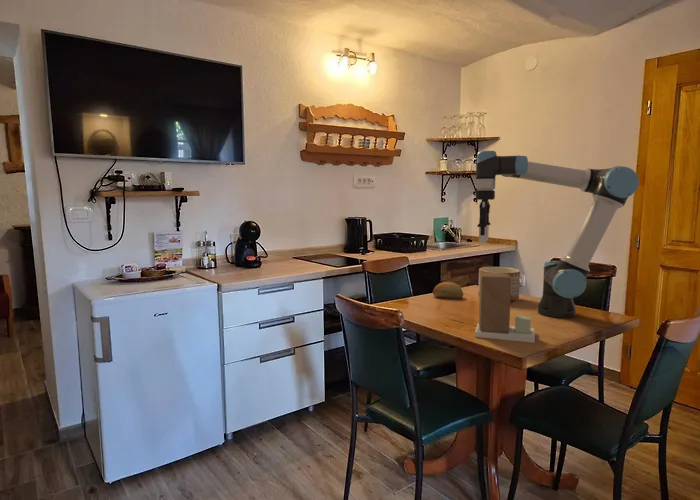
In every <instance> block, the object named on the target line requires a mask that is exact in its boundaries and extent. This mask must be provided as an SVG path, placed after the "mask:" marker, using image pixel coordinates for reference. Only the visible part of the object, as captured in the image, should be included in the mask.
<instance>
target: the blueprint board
mask: <svg viewBox="0 0 700 500" xmlns="http://www.w3.org/2000/svg"><path fill="white" fill-rule="evenodd" d="M474 337H475V338H480V339H481V338H482V339H492V340H503V341H513V342H524V343H533V344H534V343H536V342H535V340H536V338H535V337H536V335H535V328H534V327H530V334H528V333H517V332H515V325H509V332H508V333H506V332H489V331H480V327H479V322H478V323H477V324H476V328H475V330H474Z"/></svg>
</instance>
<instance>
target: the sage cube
mask: <svg viewBox="0 0 700 500" xmlns="http://www.w3.org/2000/svg"><path fill="white" fill-rule="evenodd" d="M514 322H515V323H514V326H515V332H517V333H528V334H530V328H531V322H532V321H531V316H528V315H517V314H516V315H515V321H514Z"/></svg>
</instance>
